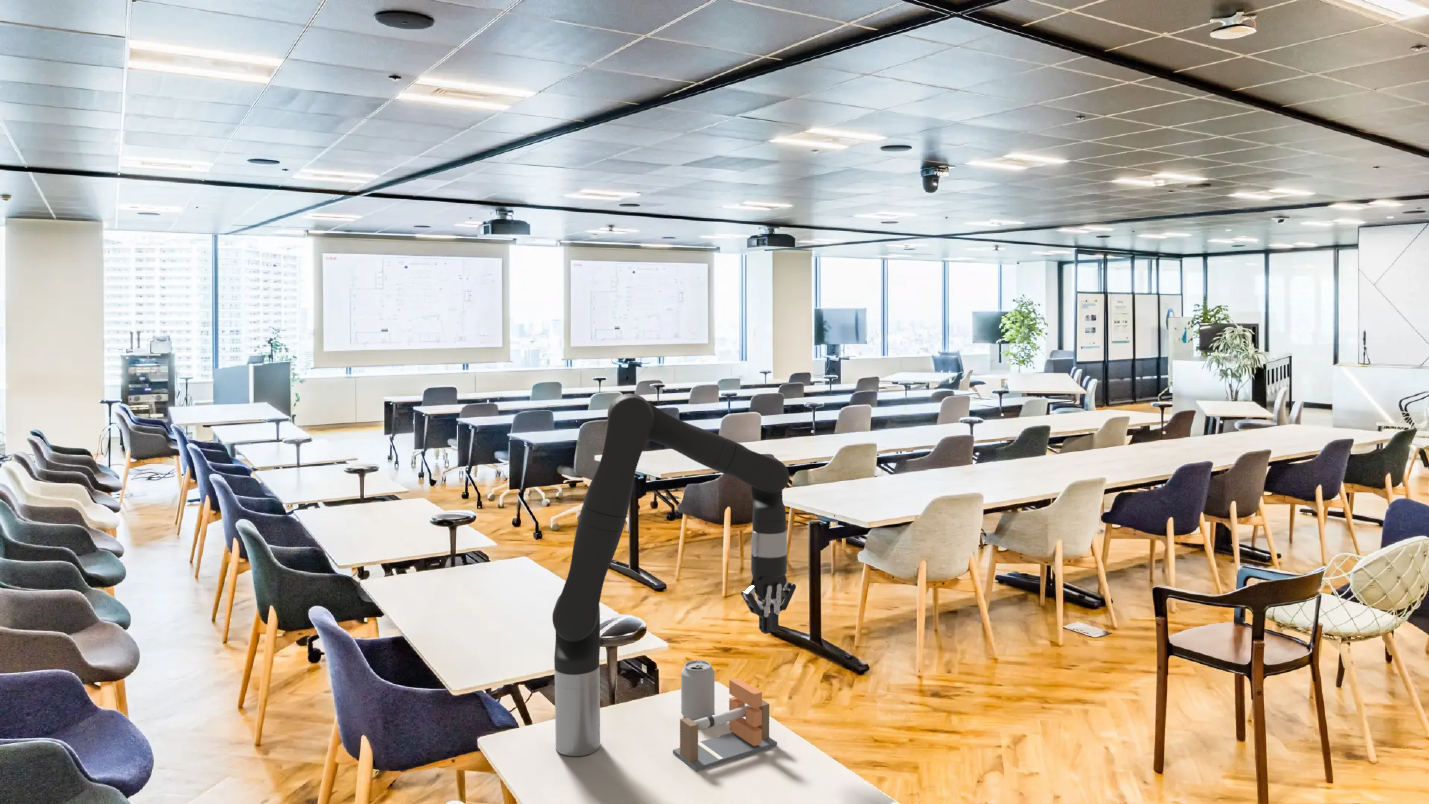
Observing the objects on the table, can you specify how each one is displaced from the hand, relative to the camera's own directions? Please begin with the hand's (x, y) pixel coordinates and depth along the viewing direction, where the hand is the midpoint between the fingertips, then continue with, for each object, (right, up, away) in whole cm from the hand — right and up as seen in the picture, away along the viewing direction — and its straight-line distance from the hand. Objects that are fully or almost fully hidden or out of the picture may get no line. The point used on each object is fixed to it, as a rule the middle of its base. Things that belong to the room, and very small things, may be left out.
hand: (768, 631), depth 193 cm
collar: (-5, -22, -1) cm, 22 cm away
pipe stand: (-9, -23, -4) cm, 26 cm away
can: (-15, -22, +12) cm, 30 cm away
